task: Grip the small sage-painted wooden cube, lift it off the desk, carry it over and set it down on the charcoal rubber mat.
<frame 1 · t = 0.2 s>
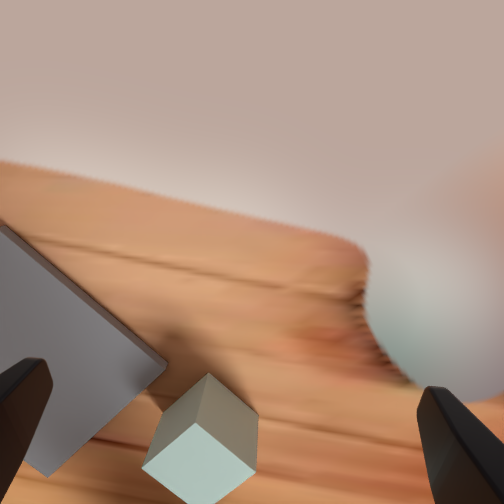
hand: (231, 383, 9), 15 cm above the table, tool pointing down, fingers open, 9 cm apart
rubber mat: (31, 360, 27), on the table
cube: (210, 413, 28), on the table
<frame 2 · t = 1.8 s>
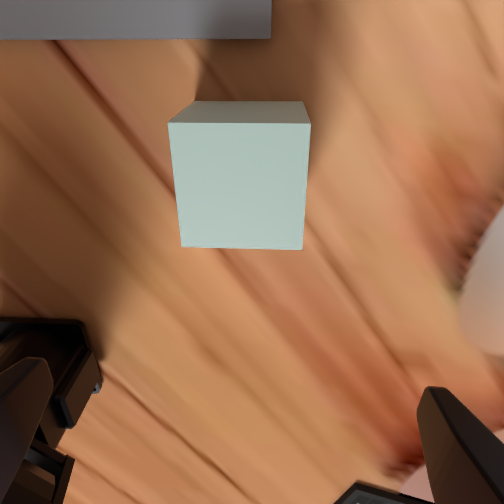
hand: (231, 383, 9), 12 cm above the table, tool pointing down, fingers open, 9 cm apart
cube: (248, 154, 19), on the table
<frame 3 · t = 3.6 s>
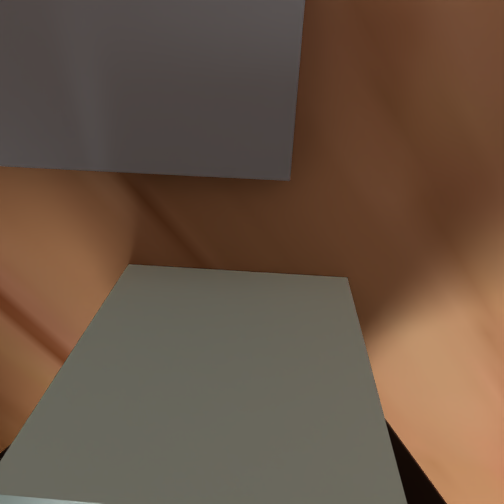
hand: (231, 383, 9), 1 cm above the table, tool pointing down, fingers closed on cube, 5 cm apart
cube: (235, 350, 10), on the table, touching gripper
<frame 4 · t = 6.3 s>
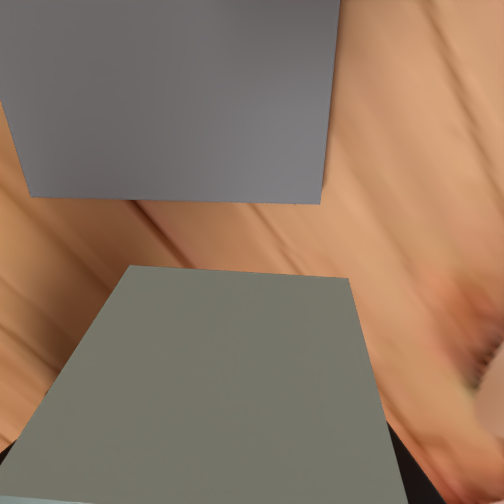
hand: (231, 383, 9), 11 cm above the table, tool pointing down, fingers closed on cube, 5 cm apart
rubber mat: (159, 31, 15), on the table
cube: (236, 351, 10), point 10 cm above the table, touching gripper
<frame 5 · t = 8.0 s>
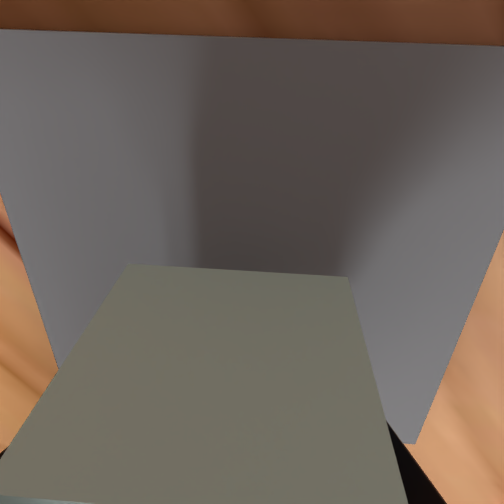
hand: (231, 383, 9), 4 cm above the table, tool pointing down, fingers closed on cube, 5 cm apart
rubber mat: (246, 278, 13), on the table
cube: (235, 350, 10), point 3 cm above the table, touching gripper
when the fingers open (3 cm above the table, at t = 9.1 s): cube stays where it is, resting on rubber mat.
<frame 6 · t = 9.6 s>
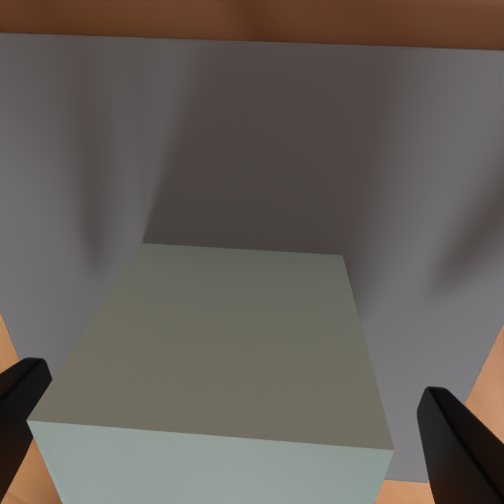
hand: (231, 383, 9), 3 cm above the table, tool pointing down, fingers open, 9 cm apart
rubber mat: (242, 307, 11), on the table
cube: (239, 325, 11), point 1 cm above the table, touching rubber mat
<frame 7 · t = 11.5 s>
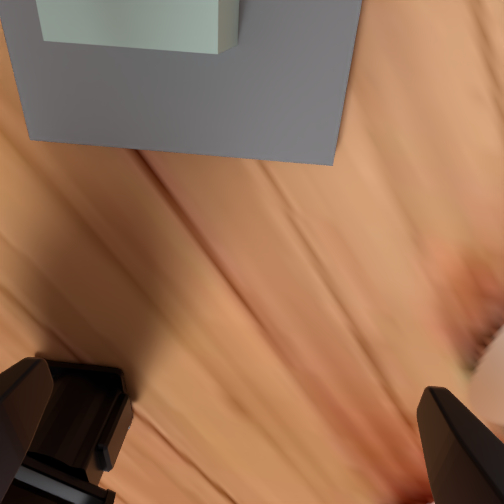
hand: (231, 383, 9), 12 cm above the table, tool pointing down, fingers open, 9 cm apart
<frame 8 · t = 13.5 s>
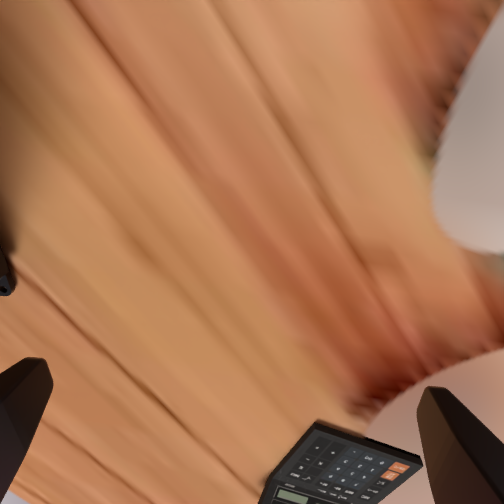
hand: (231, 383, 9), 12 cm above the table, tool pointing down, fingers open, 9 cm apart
calculator: (330, 472, 32), on the table
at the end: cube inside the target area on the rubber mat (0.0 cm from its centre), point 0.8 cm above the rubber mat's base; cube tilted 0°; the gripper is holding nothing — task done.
